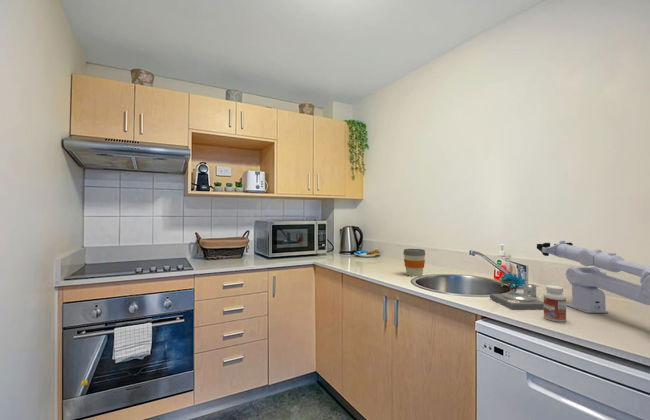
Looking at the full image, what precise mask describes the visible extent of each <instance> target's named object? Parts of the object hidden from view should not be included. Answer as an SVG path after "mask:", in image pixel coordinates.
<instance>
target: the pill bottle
mask: <svg viewBox="0 0 650 420" xmlns="http://www.w3.org/2000/svg"><path fill="white" fill-rule="evenodd" d="M545 290H546V291H545V292H544V293H543V302H544V309H543V317H544V319H546V320H548V321H552V322H558V323H563V322H566V321H567V305H566V304H567V296H566V295H565V294H564V287H562V286H557V285H551V284H550V285H549V284H547V285H545Z"/></svg>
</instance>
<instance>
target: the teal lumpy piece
mask: <svg viewBox="0 0 650 420" xmlns="http://www.w3.org/2000/svg"><path fill="white" fill-rule="evenodd" d="M498 281H500V282H501V285H500V287H502V288H503V286H504V284H508V285H509V286H510V287H509V288H510V289H511V288H513V289H514V286H515V287H524V284H526V279H525V278H523V276H522V275H518V277H517V273H513V274H512V273H511V272H508V273H503V274H502V275H501V277H499V280H498Z"/></svg>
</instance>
